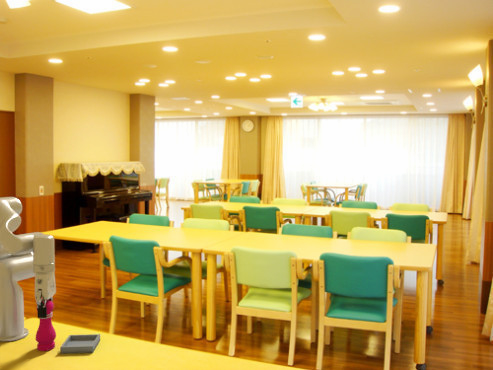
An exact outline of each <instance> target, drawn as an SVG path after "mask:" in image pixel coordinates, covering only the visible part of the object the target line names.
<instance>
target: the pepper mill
mask: <svg viewBox="0 0 493 370" xmlns="http://www.w3.org/2000/svg"><path fill="white" fill-rule="evenodd" d="M41 299H44V297H41ZM41 302H43V303H44V301H41ZM46 307H47V317H46V318H38V319H39V323H38V324H39V325H38V328H37V331H36V333H35V341H36V342H37V344H36V348H37V350H38V352H39V351H40V352H46V351H50V350H53V349H55V348H56V341H55V340H56V338H57V332H56V330H55V328H54V326H53V322H52V317H53V316H54V315H53V311H54V307H55V306H54V302H52V301H50V300H47V299H46ZM52 310H53V311H52Z"/></svg>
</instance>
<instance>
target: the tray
mask: <svg viewBox="0 0 493 370" xmlns="http://www.w3.org/2000/svg"><path fill="white" fill-rule="evenodd" d="M100 342H101V334H99V333H98V334H97V333H96V334H69V335H68V337H67V338H66V339H65V340H64V342H63V343H62V344H61V346H60V355H62V354H63V355H65V354H93V353H94V352H95V350H96V348H97V346H98V345H99V343H100Z"/></svg>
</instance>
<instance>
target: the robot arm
mask: <svg viewBox="0 0 493 370" xmlns="http://www.w3.org/2000/svg"><path fill="white" fill-rule="evenodd" d="M22 211H23V204H22V202H21V200H20V199H19V198H18V197H15V196H5V197H0V342H2V343H3V342H12V341H13V342H14V341H17V340H21V339H24V338H25V337H27V336H28V335H29V329H28V328H26V327H25V313H24V312H25V305H24V290H23V289H22V287H21V286H20V284H19V283H18V282H20V281H23V280H27V279H30V278H34V299H35V303H36V313H37V318H38V319H39V318H46V317H47V307H46V299H47V300H50V301H52V302H53V300H54V298H53V296H54V295H56V293H57V287H56V286H57V285H56V273H55V271H56V260H55V259H56V256H55V251H56V250H55V237H54V236H53V235H52V234H44V233H43V232H42V231H40V232H39V231H36V232H35V231H33V232H29V233H23V234H22V233H21V234H18V235H17V234H14V233H13V232H15V231H16V230H17V229H18V228H19V227H20V226H21V223H22V217H21V216H20V215H21V214H22ZM43 297H44V299H42V298H43ZM41 301H44V303H43V302H41ZM53 303H54V302H53ZM53 311H54V309H53V310H52V312H53Z"/></svg>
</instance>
